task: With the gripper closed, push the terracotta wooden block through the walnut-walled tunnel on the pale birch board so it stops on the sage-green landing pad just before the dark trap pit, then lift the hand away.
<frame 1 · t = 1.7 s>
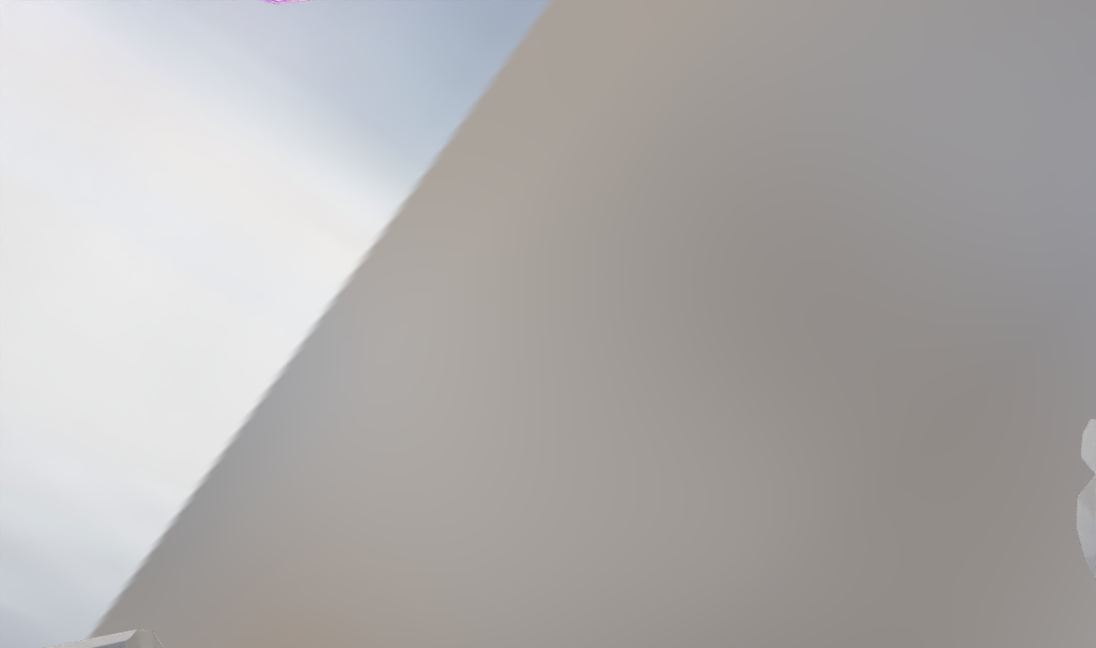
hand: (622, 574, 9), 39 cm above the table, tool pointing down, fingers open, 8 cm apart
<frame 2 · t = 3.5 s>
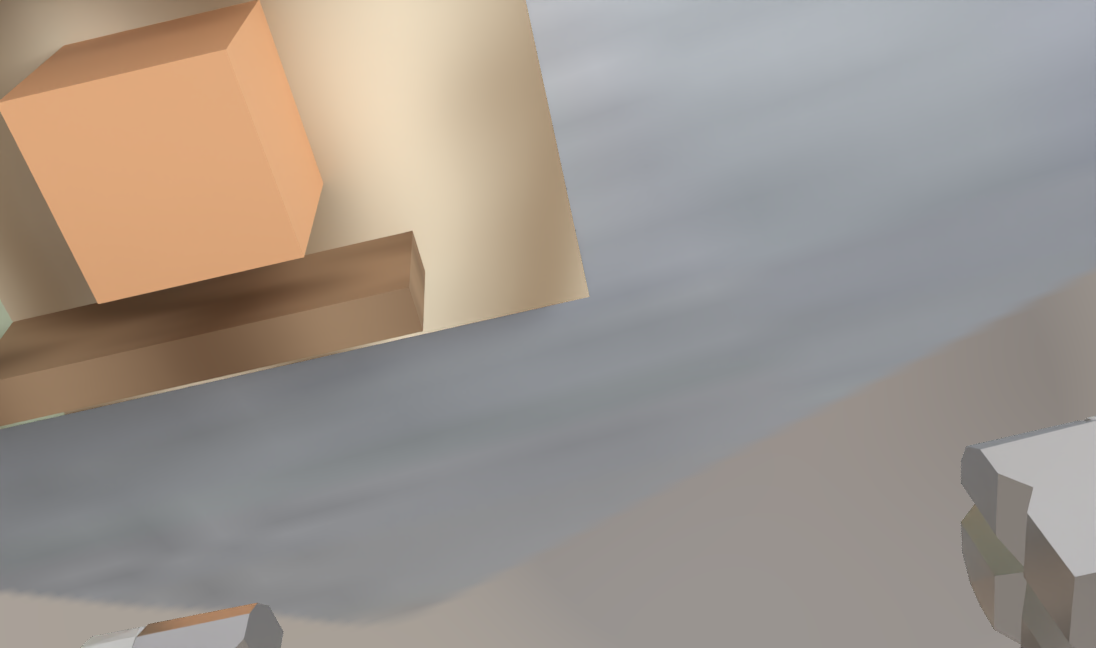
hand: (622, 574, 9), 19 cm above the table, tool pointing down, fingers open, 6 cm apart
block: (199, 117, 24), point 2 cm above the table, touching tunnel board
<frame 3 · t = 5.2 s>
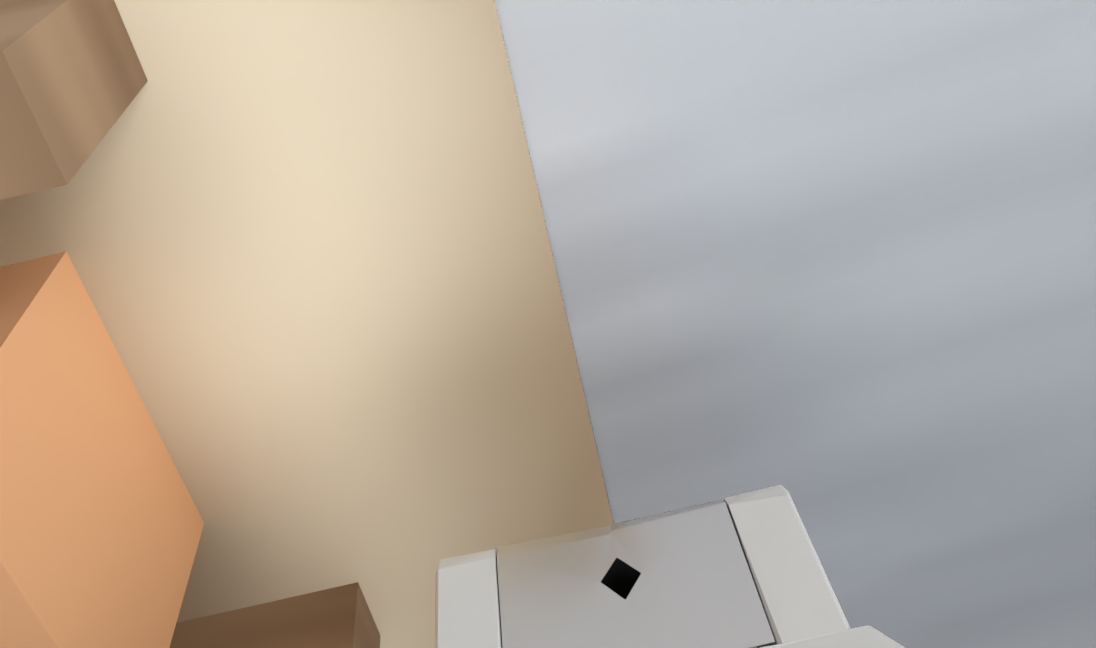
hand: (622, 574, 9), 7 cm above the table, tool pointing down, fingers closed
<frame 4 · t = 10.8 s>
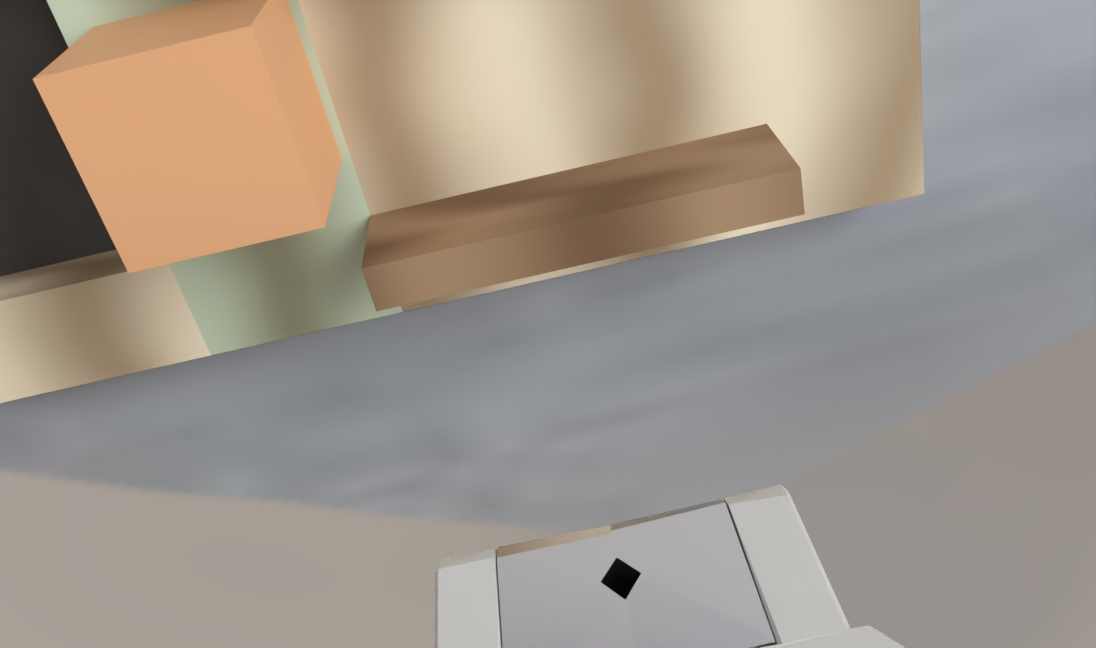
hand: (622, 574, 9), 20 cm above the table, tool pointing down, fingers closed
block: (223, 95, 25), point 2 cm above the table, touching tunnel board
tunnel board: (348, 40, 26), on the table
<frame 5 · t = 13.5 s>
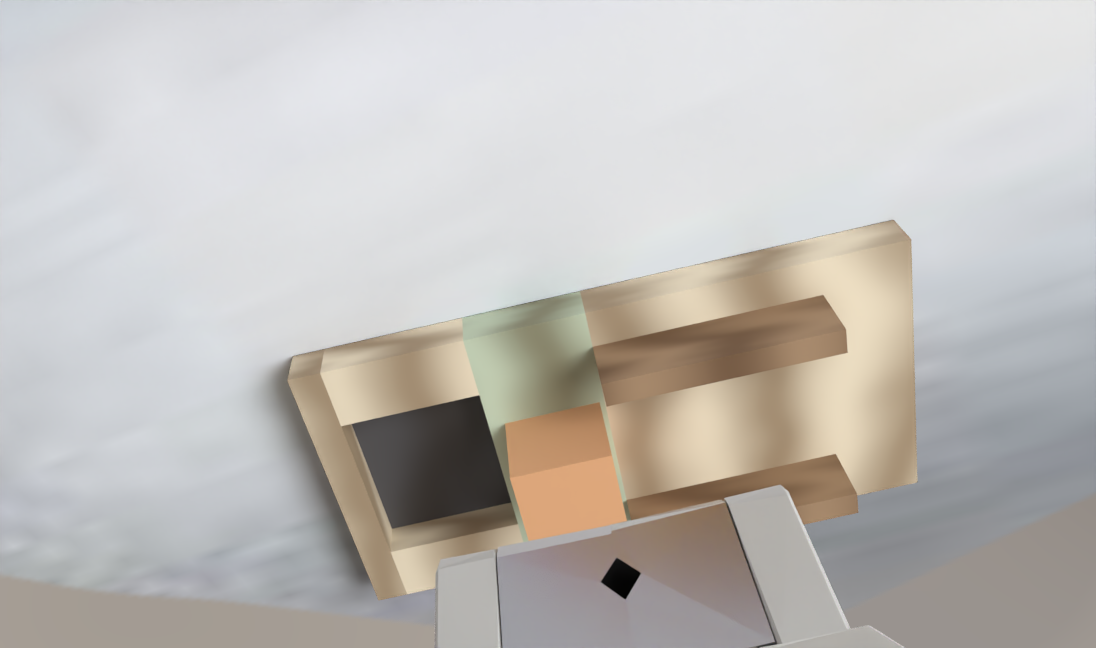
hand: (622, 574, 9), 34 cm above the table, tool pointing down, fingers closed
block: (562, 450, 49), point 2 cm above the table, touching tunnel board
tunnel board: (616, 410, 50), on the table
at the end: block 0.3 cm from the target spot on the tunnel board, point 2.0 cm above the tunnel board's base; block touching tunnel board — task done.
